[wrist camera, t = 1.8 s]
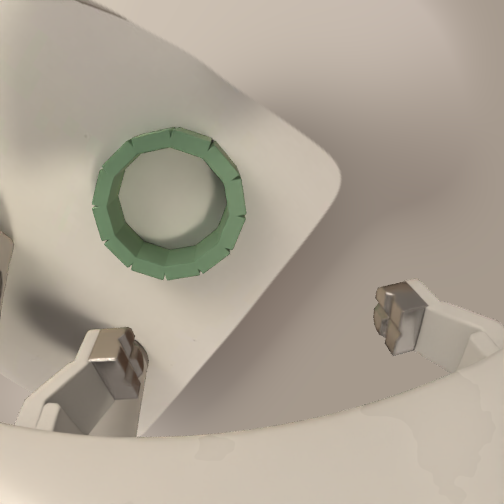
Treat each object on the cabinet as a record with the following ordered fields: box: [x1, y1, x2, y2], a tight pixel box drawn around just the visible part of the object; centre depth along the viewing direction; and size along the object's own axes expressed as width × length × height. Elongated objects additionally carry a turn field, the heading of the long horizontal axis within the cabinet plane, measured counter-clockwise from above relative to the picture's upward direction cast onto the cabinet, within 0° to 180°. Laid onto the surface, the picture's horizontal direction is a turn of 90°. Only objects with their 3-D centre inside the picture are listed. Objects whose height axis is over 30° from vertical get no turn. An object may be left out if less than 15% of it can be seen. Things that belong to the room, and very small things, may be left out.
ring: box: [92, 127, 246, 280], centre depth 22 cm, size 11×11×3 cm
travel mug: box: [89, 341, 149, 437], centre depth 21 cm, size 6×7×20 cm
